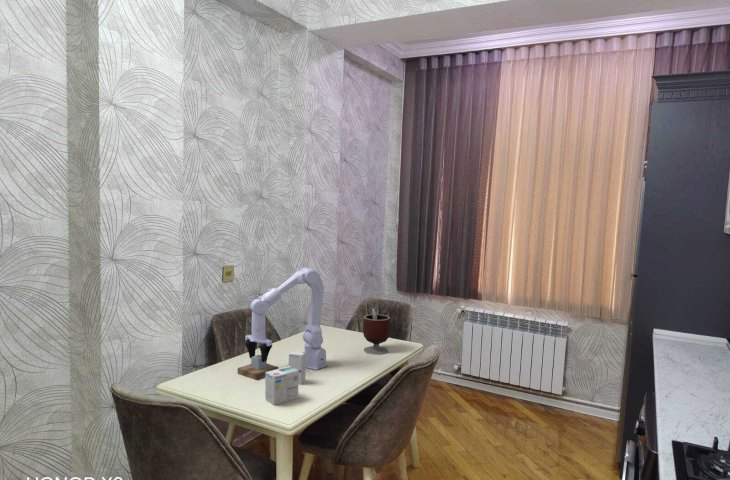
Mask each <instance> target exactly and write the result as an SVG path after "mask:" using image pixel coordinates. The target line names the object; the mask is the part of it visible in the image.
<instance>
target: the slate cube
mask: <svg viewBox="0 0 730 480" xmlns="http://www.w3.org/2000/svg"><path fill="white" fill-rule="evenodd" d="M250 360H251V361H250V364H251V368H254V369H257V370H259V369H262V368H266V367H267V364H268V362H267V361H265V362H262V359H261V354H258V355H255V356H253V357H251V358H250Z"/></svg>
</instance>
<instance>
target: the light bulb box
mask: <svg viewBox="0 0 730 480" xmlns="http://www.w3.org/2000/svg"><path fill="white" fill-rule="evenodd" d="M264 379H265V392H264V393H265V400H264V401H267V403H270V404H271V405H273V406H276V405H279V404H283V403H285V402H290V401H293V400H296V399H298V398H299V384H298V370H297V369H295V368H292V367H290V366H289V365H288V366H285V367H280V368H278V369H276V370H272V371H267V372H265V378H264Z"/></svg>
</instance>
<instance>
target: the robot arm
mask: <svg viewBox="0 0 730 480" xmlns="http://www.w3.org/2000/svg"><path fill="white" fill-rule="evenodd" d="M305 284H306V285H308V287H310V288H311V296H310V304H309V313H308V314H309V315H308V323H307V325H306V326H305V331H304V332H303V335H302V338H303V341H304V342H305V343H304V352H305V353H306V368H307V369H309V370H310V369H311V370H313V371H317V370H319V369H323V368H325V367H328V364H327V351H326V349H325V348H323V347H322V344H323V342H324V338H323V335H322V334H323V331H322V327H321V319H322V310H323V302H324V290H325V285H324V283H323V280H322V278H321V274H320V273H319V272H318V271H316V270H315V269H311V268H309V267H306V266H305V267H302V268H301V269H299V270H297V271H295V273H294V274H292V275H291V276H290V277H289V278H287V279H286V280H285V281H284V282H282V284H280V285H279V286H278V287H272V288H269V289H267V292H265V293H264V294H263V295H259V296H258V298H255V299H253V300H252V301H251V303H250V305H249V308H250V310H251V311H252V312H251V334H246V335H245V342H244V345H245V346H246V349H247V352H248V356H249V359H251V357H253V356H256V348H257V344H261V345H259V346H258V348H259V349H260V355H261V359H262V362H265V361H267V360H268V357H269V354H270V351H271V350H272V348H273V341H272V340H270V339H269V338H267V337H266V313H267V311H268V309H269V308H271V307H272V306H273V305H274V304H275V303H277V302H278V301H280V300H281V299H282V295H283V294H284V293H286V292H288V291H289V290H290V289H292V288H293V287H294V286H297V285H305Z"/></svg>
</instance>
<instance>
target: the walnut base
mask: <svg viewBox="0 0 730 480" xmlns="http://www.w3.org/2000/svg"><path fill="white" fill-rule="evenodd" d="M276 369H279V366H276V365H273V364H270V363H267V367H266V368H262V369H259V370H257V369H254V368H251V363H249V364H246V365H243V366H240V367H237V375H240V376H243V377H246V378H249V379H252V380H255V381H259V380H261V379H265V372H267V371H272V370H276Z"/></svg>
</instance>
